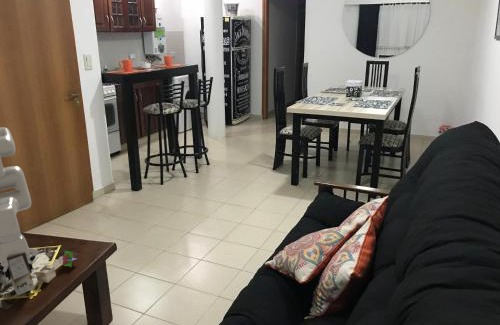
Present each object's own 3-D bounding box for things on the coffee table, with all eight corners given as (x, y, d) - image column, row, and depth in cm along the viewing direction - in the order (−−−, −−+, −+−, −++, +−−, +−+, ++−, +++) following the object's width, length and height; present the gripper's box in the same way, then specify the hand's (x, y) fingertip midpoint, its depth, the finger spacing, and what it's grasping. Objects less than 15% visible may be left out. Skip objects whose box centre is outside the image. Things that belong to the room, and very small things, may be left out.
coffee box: (35, 288, 159) (26, 253, 154) (17, 295, 155) (8, 260, 150) (28, 278, 166) (19, 244, 160) (11, 285, 162) (1, 251, 156)
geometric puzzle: (69, 253, 182) (59, 246, 175) (82, 255, 180) (73, 248, 174) (63, 268, 178) (52, 262, 172) (76, 270, 177) (66, 264, 170)
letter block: (37, 281, 166) (35, 271, 165) (45, 274, 171) (43, 264, 169) (49, 283, 165) (46, 272, 164) (57, 275, 170) (54, 265, 168)
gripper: (-17, 247, 145) (-5, 287, 151) (36, 232, 154) (45, 271, 160) (-18, 238, 151) (-6, 278, 157) (33, 225, 160) (42, 263, 166)
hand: (20, 274), depth 159 cm, fingers closed on coffee box, 7 cm apart
